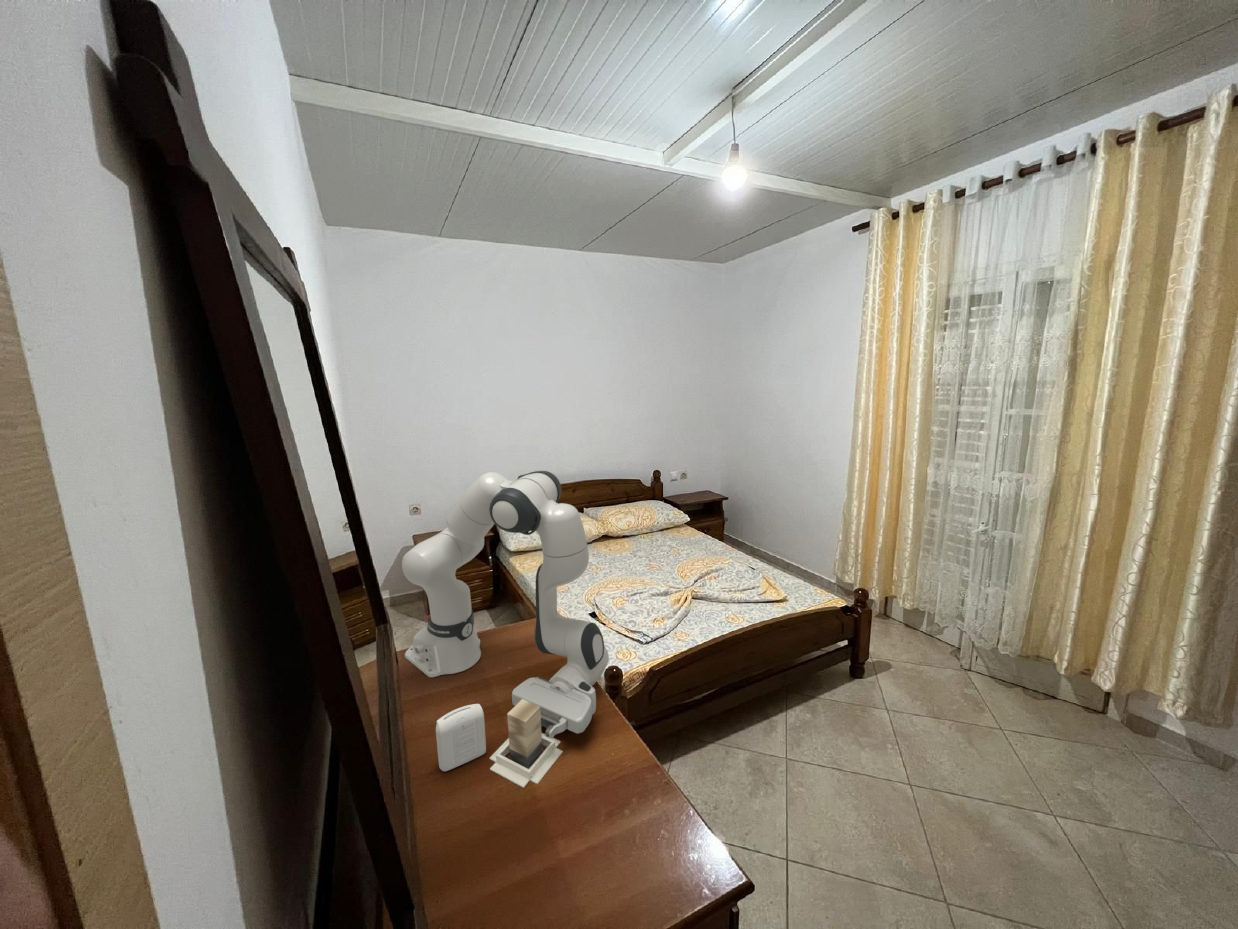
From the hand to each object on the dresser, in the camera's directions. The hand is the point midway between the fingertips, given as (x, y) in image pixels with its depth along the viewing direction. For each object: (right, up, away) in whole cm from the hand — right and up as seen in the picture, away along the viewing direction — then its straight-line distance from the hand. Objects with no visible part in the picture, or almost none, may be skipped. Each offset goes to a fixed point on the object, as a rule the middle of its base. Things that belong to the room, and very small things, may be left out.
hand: (530, 727), depth 105 cm
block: (-1, -6, 0) cm, 6 cm away
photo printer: (-15, -7, -1) cm, 16 cm away
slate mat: (+2, -3, +14) cm, 14 cm away
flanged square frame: (-1, -6, 0) cm, 6 cm away
